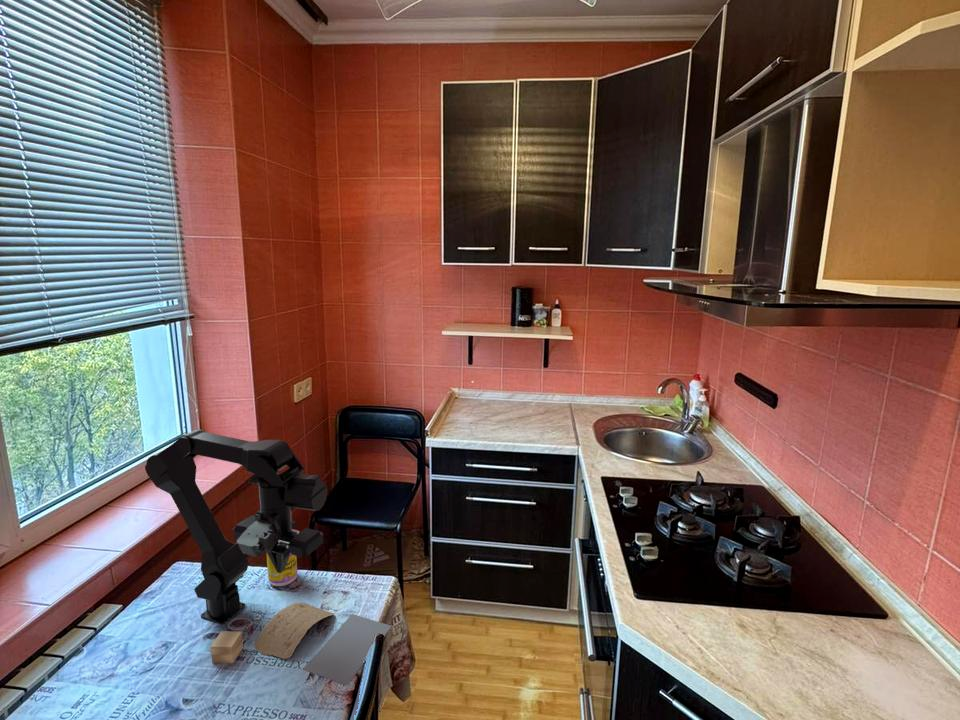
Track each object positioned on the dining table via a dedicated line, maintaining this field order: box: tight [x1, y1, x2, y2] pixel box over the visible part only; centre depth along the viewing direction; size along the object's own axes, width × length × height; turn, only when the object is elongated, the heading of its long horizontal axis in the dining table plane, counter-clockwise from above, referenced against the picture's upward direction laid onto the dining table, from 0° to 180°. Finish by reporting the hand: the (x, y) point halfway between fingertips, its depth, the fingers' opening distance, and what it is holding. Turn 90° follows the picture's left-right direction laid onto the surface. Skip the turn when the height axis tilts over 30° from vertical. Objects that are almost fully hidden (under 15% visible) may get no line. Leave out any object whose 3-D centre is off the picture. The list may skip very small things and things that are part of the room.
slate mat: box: [302, 613, 393, 686], centre depth 99 cm, size 10×16×1 cm, turn 160°
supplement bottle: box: [266, 553, 298, 587], centre depth 119 cm, size 7×7×13 cm
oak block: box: [210, 630, 244, 664], centre depth 96 cm, size 4×4×4 cm
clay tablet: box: [253, 602, 335, 659], centre depth 103 cm, size 14×10×3 cm
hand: (280, 571), depth 103 cm, fingers closed
